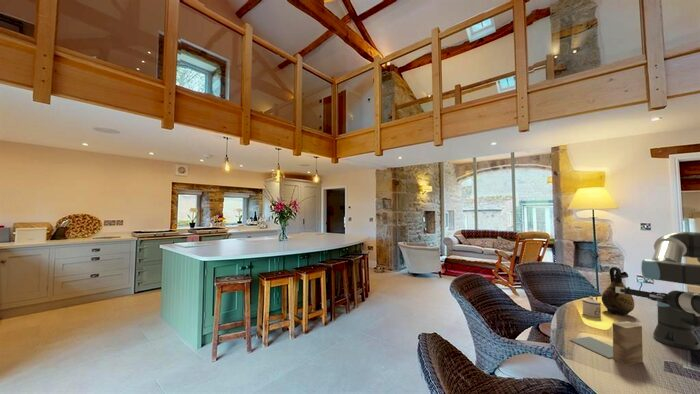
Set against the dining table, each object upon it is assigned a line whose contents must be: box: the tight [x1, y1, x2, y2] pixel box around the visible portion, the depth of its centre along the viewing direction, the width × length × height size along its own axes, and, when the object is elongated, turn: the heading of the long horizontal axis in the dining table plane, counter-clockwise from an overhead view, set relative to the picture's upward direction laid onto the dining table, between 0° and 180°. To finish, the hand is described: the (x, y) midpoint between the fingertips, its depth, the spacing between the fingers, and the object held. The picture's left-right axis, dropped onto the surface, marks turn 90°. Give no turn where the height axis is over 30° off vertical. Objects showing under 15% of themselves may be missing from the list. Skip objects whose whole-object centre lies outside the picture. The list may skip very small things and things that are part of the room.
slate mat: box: [569, 336, 613, 359], centre depth 131 cm, size 17×14×1 cm
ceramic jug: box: [601, 266, 635, 317], centre depth 176 cm, size 17×15×30 cm
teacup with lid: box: [581, 296, 602, 318], centre depth 173 cm, size 12×9×12 cm
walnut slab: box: [612, 320, 644, 366], centre depth 120 cm, size 5×10×16 cm, turn 104°
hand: (632, 292), depth 120 cm, fingers open, 13 cm apart
